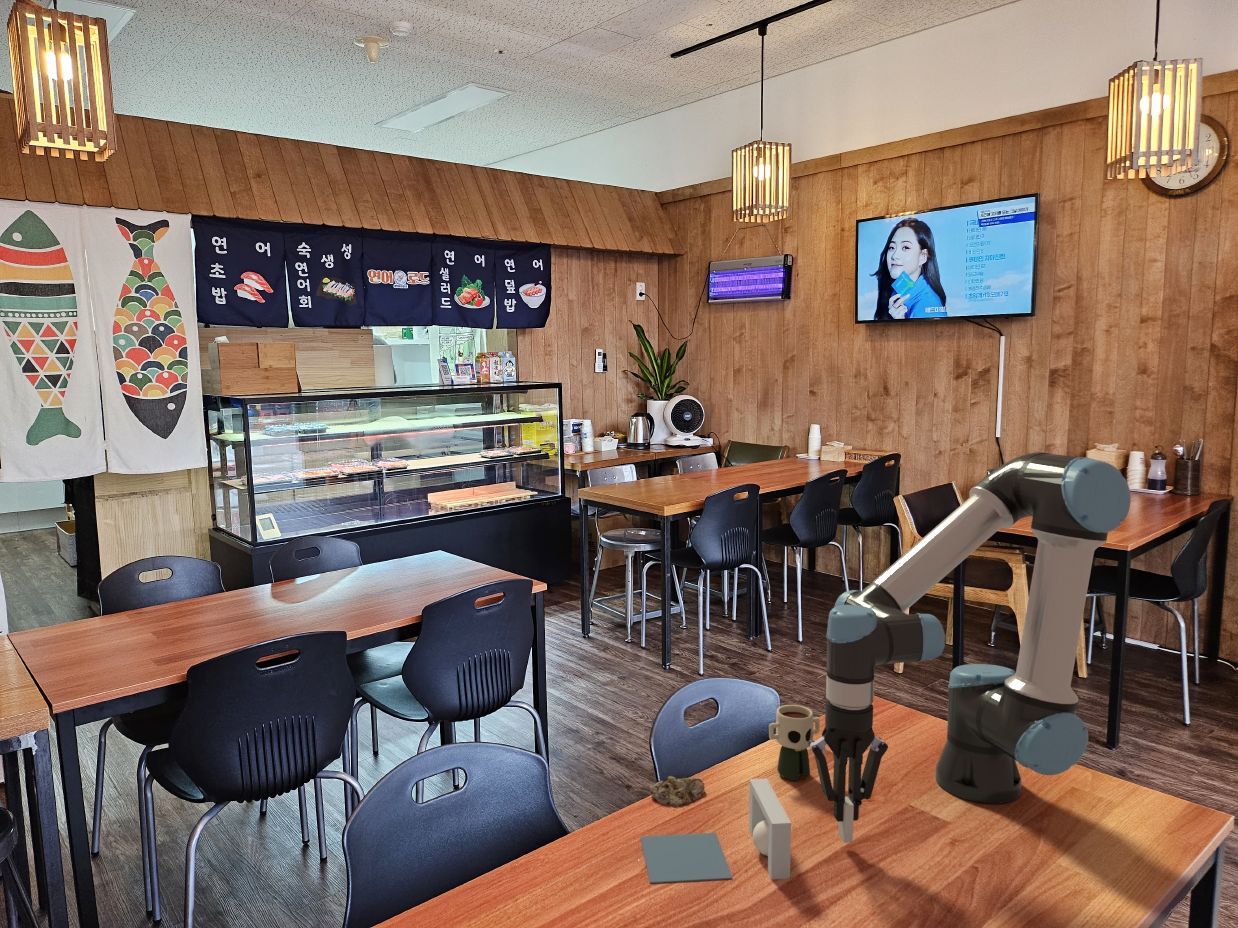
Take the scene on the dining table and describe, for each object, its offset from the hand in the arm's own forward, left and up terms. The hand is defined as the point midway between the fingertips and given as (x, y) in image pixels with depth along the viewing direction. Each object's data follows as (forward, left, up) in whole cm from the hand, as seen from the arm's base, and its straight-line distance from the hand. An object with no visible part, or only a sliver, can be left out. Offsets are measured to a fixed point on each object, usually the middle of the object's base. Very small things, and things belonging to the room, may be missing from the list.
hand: (845, 837), depth 141 cm
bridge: (+13, 0, -2) cm, 13 cm away
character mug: (+1, -26, -2) cm, 26 cm away
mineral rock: (+25, -21, -3) cm, 32 cm away
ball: (+13, 0, +1) cm, 13 cm away
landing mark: (+27, 0, -2) cm, 27 cm away
